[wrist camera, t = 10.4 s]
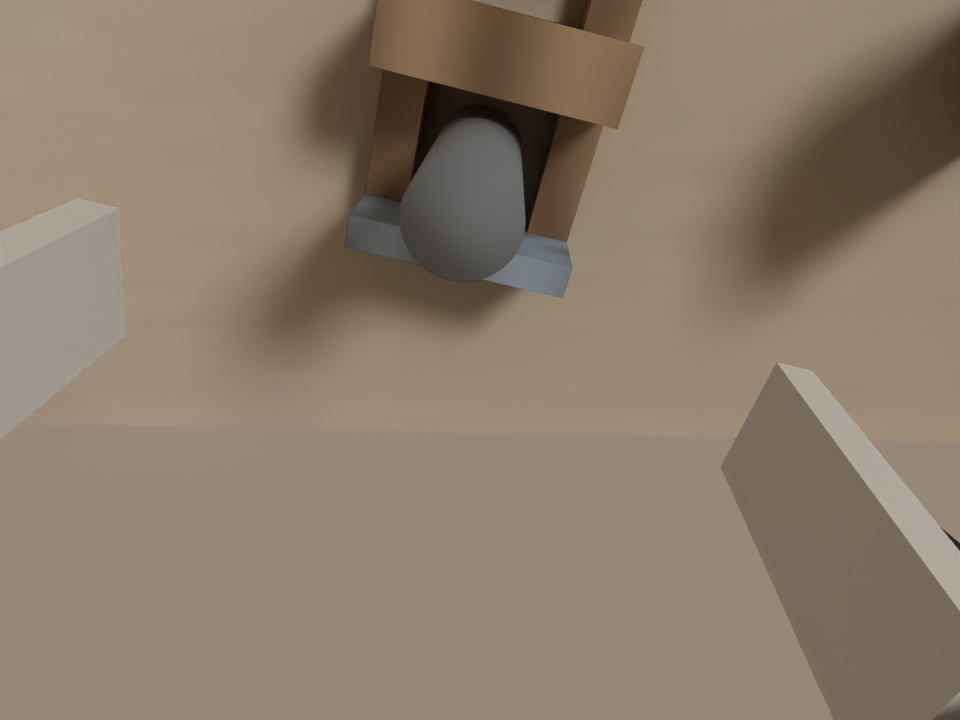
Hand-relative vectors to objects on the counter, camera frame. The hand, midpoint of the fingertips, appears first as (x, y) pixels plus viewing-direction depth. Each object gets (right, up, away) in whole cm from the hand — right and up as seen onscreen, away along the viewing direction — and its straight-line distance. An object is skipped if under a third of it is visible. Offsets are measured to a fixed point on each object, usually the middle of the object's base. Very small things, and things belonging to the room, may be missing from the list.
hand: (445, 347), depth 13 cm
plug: (+1, +10, +18) cm, 20 cm away
